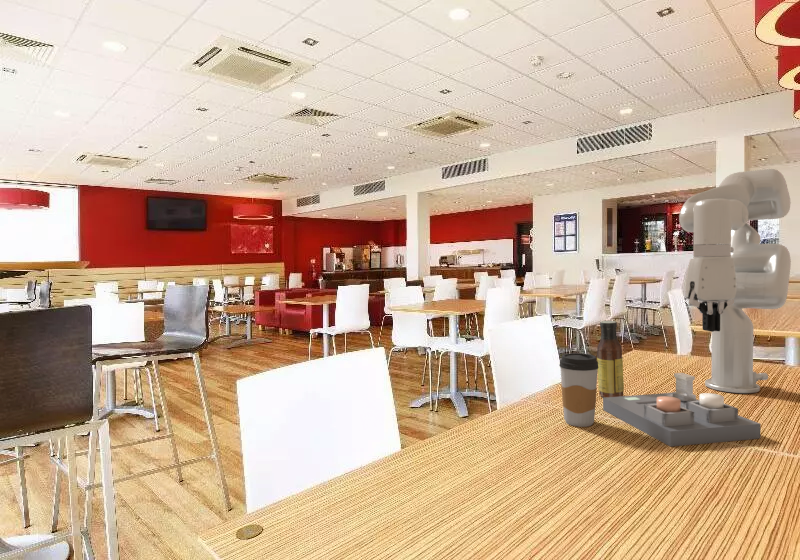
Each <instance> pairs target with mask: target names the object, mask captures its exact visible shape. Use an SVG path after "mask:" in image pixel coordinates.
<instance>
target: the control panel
mask: <svg viewBox="0 0 800 560" xmlns="http://www.w3.org/2000/svg"><path fill="white" fill-rule="evenodd" d="M660 396H668V397H673V392H662V393H661V392H660V393H649V394H638V395H636V394H635V395H623V396H619V397H605V398H604V397H602V400H603V401H602V410H603V411H605V412H606V413H608V414H610V415H612V416H614V417H616V418H617V419H620V420H621V421H623V422H625V423H626V424H628V425H630V426H632V427H634V428H635V429H637V430H639V431H641V432H643V433H645V434H646V435H648V436H651V437H652V438H654V439H655V440H657V441H659V442H661V443H663V444H665V445H667V446H669V447H680V446H681V447H682V446H691V445H702V444H713V443H723V442H735V441H744V440H746V441H747V440H758V439H761V432H762V431H761V426H762V424H761V423H760V422H757V421H754V420H751V419H749V418H746V417H744V416H741V415H739V408H738V407H735V406H733V405H730V404H727V403H724V408H720V409H708V408H705V407H703V406H700V405H699V399H697V398H696V400H693V401H682V400H681V412H669V413H665V412H663V411H661V410H658V409H657V397H660Z"/></svg>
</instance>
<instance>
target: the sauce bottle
mask: <svg viewBox="0 0 800 560" xmlns="http://www.w3.org/2000/svg"><path fill="white" fill-rule="evenodd" d="M599 327H600V332H601V333H600V341H599V342H598V345H597V347H596V348H597V353H596V361H598V367H599V368H598V372H597V383H598V384H597V385H598V387H597V390H598V393H599V394H598V395H599V396H601V397H602V398H605V397H619V396H625V395H624V393H625V392H624V391H625V385H624V382H625V381H624V359H623V349H622V348H623V347H622V345H621V343H620V341H619V340H618V336H617V327H618V324H617V321H615V320H603V321H600V322H599Z"/></svg>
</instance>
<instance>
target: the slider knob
mask: <svg viewBox="0 0 800 560" xmlns="http://www.w3.org/2000/svg"><path fill="white" fill-rule="evenodd" d="M673 377H674V378H675V391H672V393H673V397H675V398H678V399H680V400H682V401H693V400H696V399H697V395H696V394H694V393H693V392H694V387H693V386H694V381H696V380H695V379H696V377H695V376H694V375H691V374H687V373H684V372H675V373H673Z"/></svg>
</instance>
